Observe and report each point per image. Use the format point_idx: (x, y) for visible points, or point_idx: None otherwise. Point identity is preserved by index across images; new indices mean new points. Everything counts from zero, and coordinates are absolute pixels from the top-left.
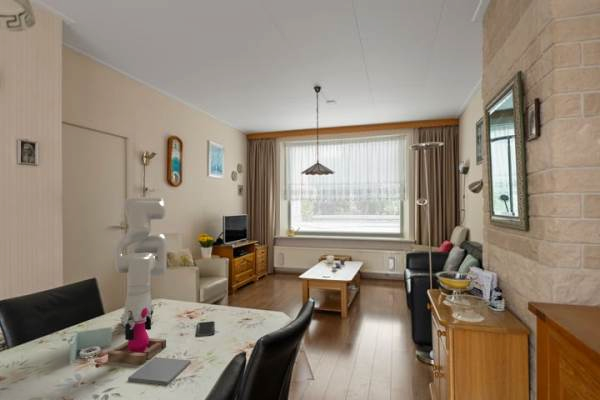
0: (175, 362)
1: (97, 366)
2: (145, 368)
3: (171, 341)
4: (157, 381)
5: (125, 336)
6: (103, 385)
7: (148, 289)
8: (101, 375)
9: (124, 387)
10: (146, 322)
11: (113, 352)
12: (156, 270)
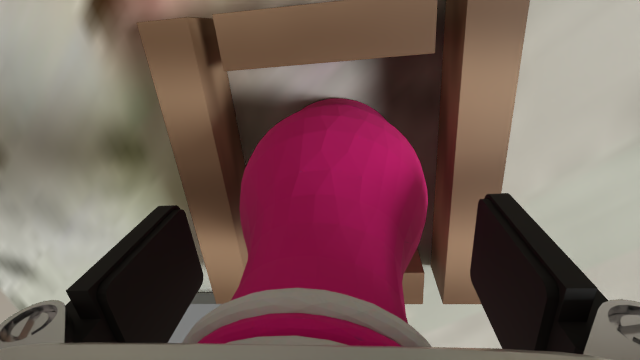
0: None
1: (92, 14)
2: (182, 324)
3: (571, 248)
4: None
5: (144, 221)
6: (14, 224)
7: None
8: (51, 142)
9: None
10: (514, 310)
11: (163, 70)
12: None
